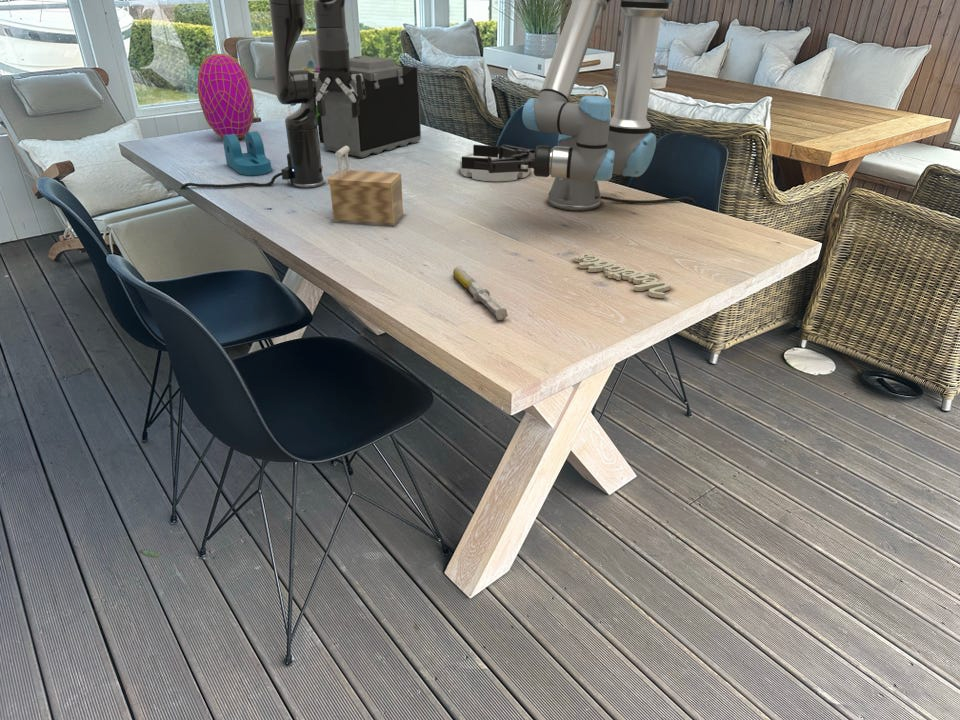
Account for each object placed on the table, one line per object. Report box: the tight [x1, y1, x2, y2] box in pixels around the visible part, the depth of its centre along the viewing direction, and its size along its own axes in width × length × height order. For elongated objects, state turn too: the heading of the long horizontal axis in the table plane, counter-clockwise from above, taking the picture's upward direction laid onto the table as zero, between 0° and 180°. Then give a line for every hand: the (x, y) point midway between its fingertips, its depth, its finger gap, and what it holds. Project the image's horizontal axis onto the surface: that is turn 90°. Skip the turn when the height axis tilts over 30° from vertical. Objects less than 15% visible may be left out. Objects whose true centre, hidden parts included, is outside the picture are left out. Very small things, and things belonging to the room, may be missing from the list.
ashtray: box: [459, 152, 531, 182], centre depth 228 cm, size 23×23×4 cm
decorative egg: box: [197, 53, 255, 140], centre depth 258 cm, size 19×19×30 cm
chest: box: [329, 178, 404, 227], centre depth 185 cm, size 17×10×10 cm, turn 80°
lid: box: [326, 146, 402, 188], centre depth 180 cm, size 17×10×8 cm, turn 80°
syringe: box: [452, 266, 509, 321], centre depth 145 cm, size 25×4×3 cm, turn 21°
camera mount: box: [222, 131, 272, 176], centre depth 226 cm, size 18×10×10 cm, turn 35°
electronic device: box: [314, 55, 422, 159], centre depth 250 cm, size 37×22×30 cm, turn 144°
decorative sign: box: [574, 252, 671, 299], centre depth 155 cm, size 26×1×10 cm
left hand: (339, 116), depth 175 cm, fingers open, 8 cm apart
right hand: (467, 156), depth 175 cm, fingers open, 13 cm apart
